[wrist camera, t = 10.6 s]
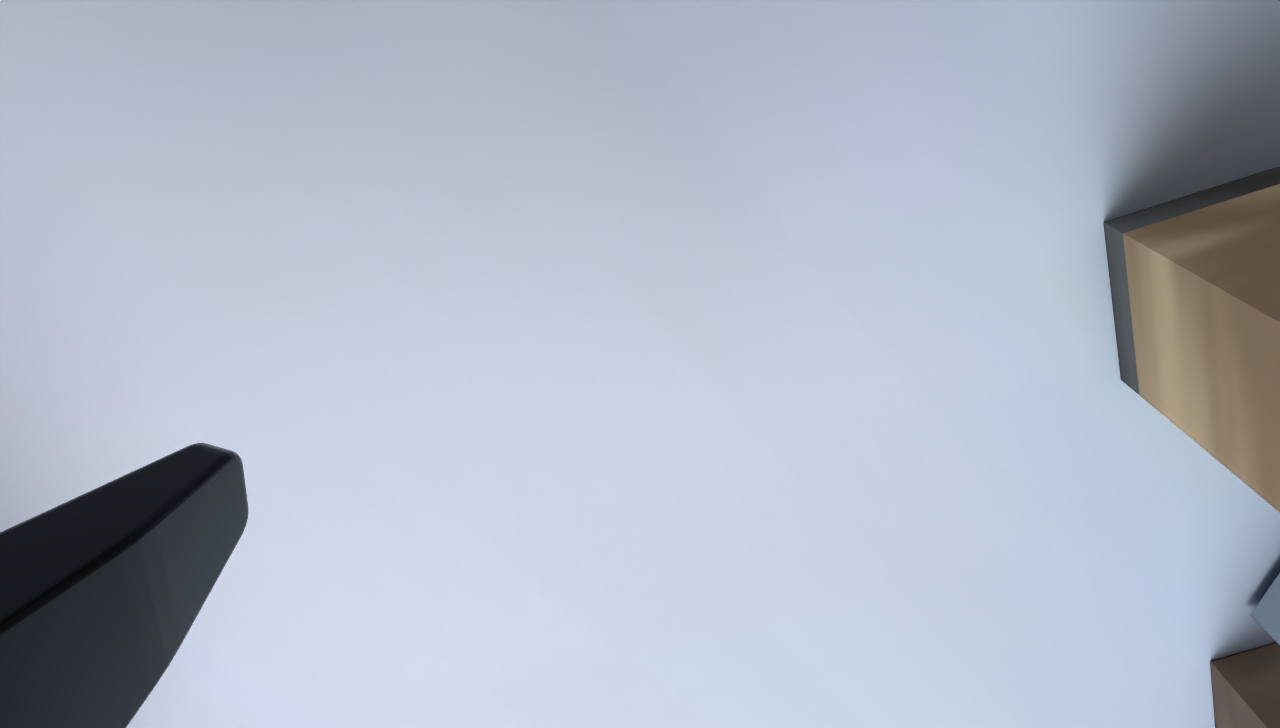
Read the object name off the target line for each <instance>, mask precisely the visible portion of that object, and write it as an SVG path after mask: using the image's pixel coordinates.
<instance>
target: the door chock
mask: <svg viewBox="0 0 1280 728" xmlns="http://www.w3.org/2000/svg"><path fill="white" fill-rule="evenodd" d="M1104 230H1105V239H1106V248H1107V257H1108V266H1109V275H1110V284H1111V293H1112V302H1113V311H1114V320H1115V329H1116V338H1117V347H1118V356H1119V365H1120V374H1121V380H1122V381H1123V382H1124V383H1126V384H1127V385H1128V386H1129V387H1130V388H1132V389H1133V390H1134V391H1135V392H1136V393H1138V394H1139V395H1140V396H1141V397H1142V398H1144V399H1145V400H1146V401H1147V402H1148V403H1150V404H1151V405H1152V406H1153V407H1154V408H1155V409H1157V410H1158V411H1159V412H1160V413H1161V414H1163V415H1164V416H1165V417H1166V418H1167V419H1169V420H1170V421H1171V422H1172V423H1173V424H1175V425H1176V426H1177V427H1178V428H1179V429H1181V430H1182V431H1183V432H1184V433H1185V434H1187V435H1188V436H1189V437H1190V438H1191V439H1193V440H1194V441H1195V442H1196V443H1197V444H1199V445H1200V446H1201V447H1202V448H1203V449H1205V450H1206V451H1207V452H1208V453H1209V454H1211V455H1212V456H1213V457H1214V458H1215V459H1217V460H1218V461H1219V462H1220V463H1221V464H1223V465H1224V466H1225V467H1226V468H1227V469H1229V470H1230V471H1231V472H1232V473H1233V474H1235V475H1236V476H1237V477H1238V478H1239V479H1241V480H1242V481H1243V482H1244V483H1245V484H1247V485H1248V486H1249V487H1250V488H1251V489H1253V490H1254V491H1255V492H1256V493H1257V494H1258V495H1260V496H1261V497H1262V498H1263V499H1264V500H1266V501H1267V502H1268V503H1269V504H1270V505H1272V506H1273V507H1274V508H1275V509H1276V510H1278V511H1279V512H1280V167H1277V168H1274V169H1271V170H1268V171H1265V172H1262V173H1258V174H1255V175H1252V176H1249V177H1246V178H1243V179H1239V180H1236V181H1233V182H1230V183H1227V184H1224V185H1220V186H1217V187H1214V188H1211V189H1208V190H1205V191H1202V192H1198V193H1195V194H1192V195H1189V196H1186V197H1183V198H1179V199H1176V200H1173V201H1170V202H1167V203H1164V204H1160V205H1157V206H1154V207H1151V208H1148V209H1145V210H1142V211H1138V212H1135V213H1132V214H1129V215H1126V216H1123V217H1119V218H1116V219H1113V220H1110V221H1107V222H1104Z"/></svg>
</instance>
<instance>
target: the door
mask: <svg viewBox="0 0 1280 728" xmlns="http://www.w3.org/2000/svg"><path fill="white" fill-rule="evenodd" d="M1251 616H1252V617H1253V618H1254V619H1255V620H1256V621H1257V622H1258V624H1259V625H1260V626H1261V627H1262V628H1263V629H1264V630H1265V631H1266V632H1267V633H1268V634H1269V635H1270V636H1271V637H1272V638H1273V639H1274V640H1275V641H1276V642H1277V643H1278V644H1279V645H1280V573H1279V575H1278V576H1277V577H1276V579H1275V580H1274V582H1273V583H1272V585H1271V586H1270V588H1269V589H1268V590H1267V592H1266V593H1265V595H1264V596H1263V598H1262V599H1261V601H1260V602H1259V603H1258V605H1257V606H1256V608H1255V609H1254V611H1253V612H1252V614H1251Z"/></svg>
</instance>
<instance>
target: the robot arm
mask: <svg viewBox="0 0 1280 728" xmlns="http://www.w3.org/2000/svg"><path fill="white" fill-rule="evenodd" d="M247 519H248V502H247V494H246V486H245V479H244V471H243V464H242V460H241V458H240V457H239V456H238V454H237V453H235V452H233V451H230V450H227V449H223V448H220V447H216V446H213V445H209V444H205V443H197V444H193V445H190V446H187V447H185V448H183V449H181V450H179V451H177V452H174V453H172V454H170V455H168V456H166V457H164V458H161V459H159V460H157V461H155V462H153V463H151V464H148V465H146V466H144V467H142V468H140V469H137V470H135V471H133V472H131V473H129V474H127V475H124V476H122V477H120V478H118V479H116V480H114V481H111V482H109V483H107V484H105V485H103V486H101V487H98V488H96V489H94V490H92V491H90V492H88V493H85V494H83V495H81V496H79V497H77V498H74V499H72V500H70V501H68V502H66V503H64V504H61V505H59V506H57V507H55V508H53V509H51V510H48V511H46V512H44V513H42V514H40V515H38V516H35V517H33V518H31V519H29V520H27V521H25V522H22V523H20V524H18V525H16V526H14V527H11V528H9V529H7V530H5V531H3V532H1V533H0V728H126V727H127V725H128V724H129V723H130V721H131V720H132V718H133V717H134V715H135V714H136V713H137V711H138V710H139V708H140V707H141V705H142V704H143V703H144V701H145V700H146V698H147V697H148V695H149V694H150V693H151V691H152V690H153V688H154V687H155V685H156V684H157V682H158V681H159V679H160V678H161V676H162V675H163V673H164V672H165V670H166V669H167V667H168V666H169V664H170V663H171V661H172V659H173V657H174V656H175V654H176V652H177V651H178V649H179V647H180V646H181V644H182V642H183V640H184V638H185V637H186V635H187V633H188V631H189V629H190V628H191V626H192V624H193V622H194V620H195V619H196V617H197V615H198V613H199V611H200V610H201V608H202V606H203V604H204V602H205V601H206V599H207V597H208V595H209V593H210V592H211V590H212V588H213V586H214V584H215V582H216V581H217V579H218V577H219V575H220V573H221V572H222V570H223V568H224V566H225V564H226V563H227V561H228V559H229V557H230V555H231V554H232V552H233V550H234V548H235V546H236V545H237V543H238V541H239V539H240V537H241V535H242V533H243V531H244V529H245V526H246V523H247Z"/></svg>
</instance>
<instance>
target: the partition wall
mask: <svg viewBox="0 0 1280 728" xmlns="http://www.w3.org/2000/svg"><path fill="white" fill-rule="evenodd" d="M1211 674H1212V687H1213V699H1214V712H1215V725H1216V728H1280V645H1279V644H1278V643H1275V644H1272V645H1268V646H1265V647H1261V648H1258V649H1254V650H1251V651H1247V652H1244V653H1240V654H1236V655H1233V656H1229V657H1226V658H1222V659H1219V660H1215V661H1212V662H1211Z"/></svg>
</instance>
